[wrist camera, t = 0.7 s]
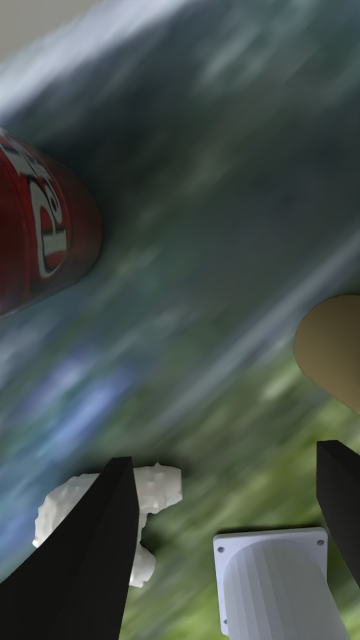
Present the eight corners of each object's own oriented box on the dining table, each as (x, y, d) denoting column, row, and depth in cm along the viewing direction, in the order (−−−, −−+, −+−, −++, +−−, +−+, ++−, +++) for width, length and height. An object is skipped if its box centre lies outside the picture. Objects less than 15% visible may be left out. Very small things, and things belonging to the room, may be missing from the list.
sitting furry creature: (150, 568, 25) (121, 864, 13) (37, 539, 24) (-99, 824, 12) (188, 465, 22) (195, 715, 11) (65, 431, 22) (-70, 656, 10)
